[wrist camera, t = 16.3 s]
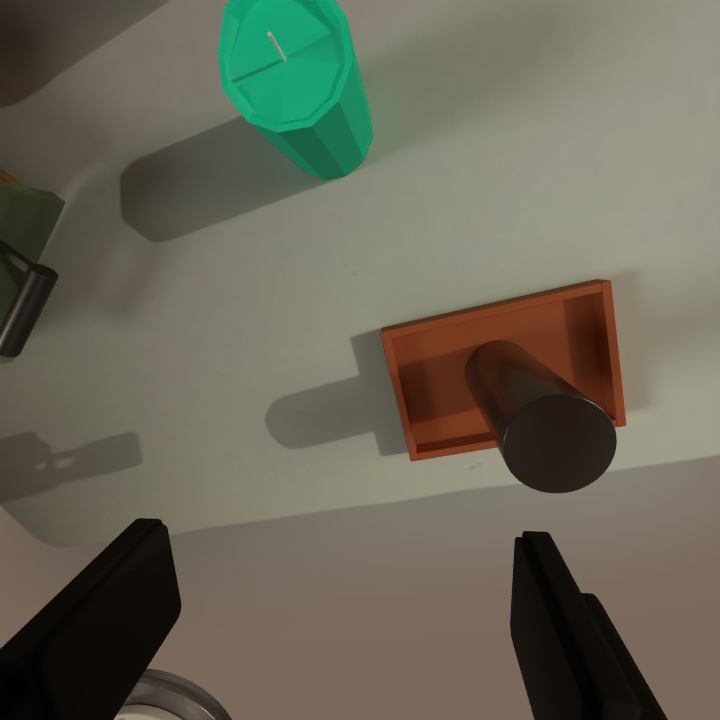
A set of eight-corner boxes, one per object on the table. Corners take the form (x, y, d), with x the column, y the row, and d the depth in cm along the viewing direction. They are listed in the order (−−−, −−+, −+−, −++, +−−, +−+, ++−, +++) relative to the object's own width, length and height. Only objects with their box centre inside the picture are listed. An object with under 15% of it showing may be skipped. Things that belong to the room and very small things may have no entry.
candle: (318, 61, 26) (246, -102, 14) (390, 119, 26) (378, 7, 15) (269, 144, 27) (168, 58, 16) (338, 198, 28) (289, 153, 16)
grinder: (470, 408, 30) (511, 501, 18) (458, 347, 29) (494, 406, 17) (536, 396, 29) (623, 485, 18) (526, 333, 28) (611, 384, 17)
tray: (410, 450, 32) (410, 462, 30) (381, 327, 30) (380, 332, 28) (612, 415, 29) (626, 425, 27) (597, 279, 27) (611, 280, 25)
